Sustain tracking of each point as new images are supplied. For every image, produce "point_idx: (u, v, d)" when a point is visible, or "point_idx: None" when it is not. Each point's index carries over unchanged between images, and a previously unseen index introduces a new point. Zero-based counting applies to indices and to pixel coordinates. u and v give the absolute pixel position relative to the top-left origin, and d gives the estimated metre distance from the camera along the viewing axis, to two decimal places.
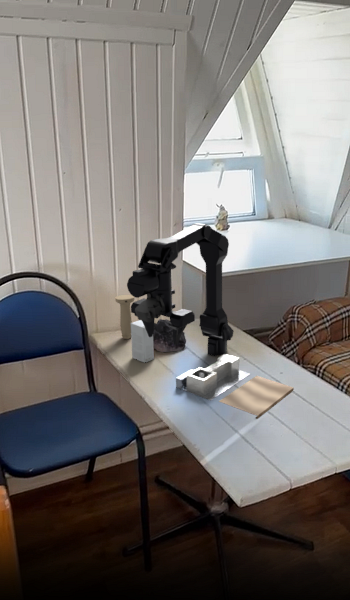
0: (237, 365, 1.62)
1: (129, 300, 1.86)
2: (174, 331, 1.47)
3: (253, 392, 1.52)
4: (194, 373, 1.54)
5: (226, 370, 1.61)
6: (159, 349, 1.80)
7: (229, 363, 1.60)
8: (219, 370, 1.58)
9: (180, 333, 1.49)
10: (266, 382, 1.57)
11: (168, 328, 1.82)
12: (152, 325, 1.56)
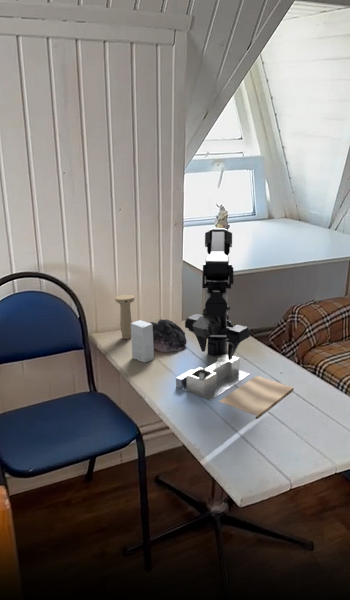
0: (237, 365, 1.62)
1: (129, 300, 1.86)
2: (230, 346, 1.51)
3: (253, 392, 1.52)
4: (194, 373, 1.54)
5: (226, 370, 1.61)
6: (160, 349, 1.80)
7: (229, 363, 1.60)
8: (219, 370, 1.58)
9: (235, 348, 1.53)
10: (266, 382, 1.57)
11: (169, 328, 1.82)
12: (205, 340, 1.60)
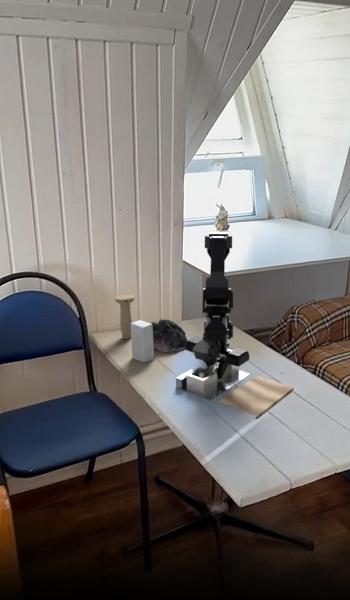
0: None
1: (129, 300, 1.86)
2: (220, 366, 1.55)
3: (253, 392, 1.52)
4: (194, 373, 1.54)
5: (226, 370, 1.61)
6: (160, 349, 1.80)
7: None
8: None
9: (225, 368, 1.57)
10: (266, 382, 1.57)
11: (169, 328, 1.82)
12: None
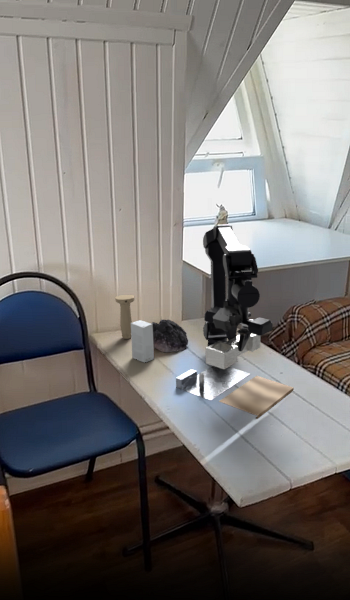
0: (258, 340, 1.54)
1: (129, 300, 1.86)
2: (241, 337, 1.47)
3: (253, 392, 1.52)
4: (214, 346, 1.46)
5: (247, 345, 1.53)
6: (161, 349, 1.80)
7: (250, 337, 1.52)
8: None
9: (246, 339, 1.49)
10: (266, 382, 1.57)
11: (170, 328, 1.82)
12: (234, 336, 1.52)
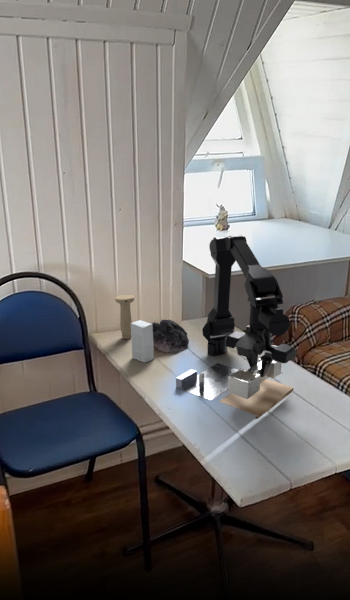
0: (279, 367, 1.53)
1: (129, 300, 1.86)
2: (263, 363, 1.45)
3: None
4: (236, 375, 1.44)
5: (268, 372, 1.51)
6: (162, 349, 1.80)
7: (272, 364, 1.50)
8: None
9: (268, 365, 1.47)
10: (266, 382, 1.57)
11: (171, 328, 1.82)
12: (256, 362, 1.50)
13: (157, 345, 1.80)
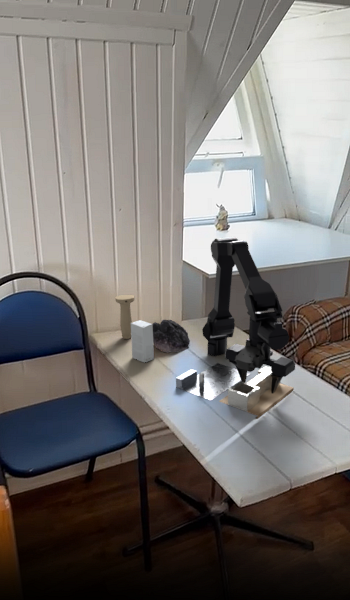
0: None
1: (129, 300, 1.86)
2: (274, 380, 1.45)
3: None
4: (236, 388, 1.46)
5: (268, 384, 1.52)
6: (163, 349, 1.80)
7: None
8: (261, 384, 1.49)
9: (278, 381, 1.46)
10: None
11: (172, 328, 1.81)
12: (246, 371, 1.53)
13: (158, 345, 1.80)
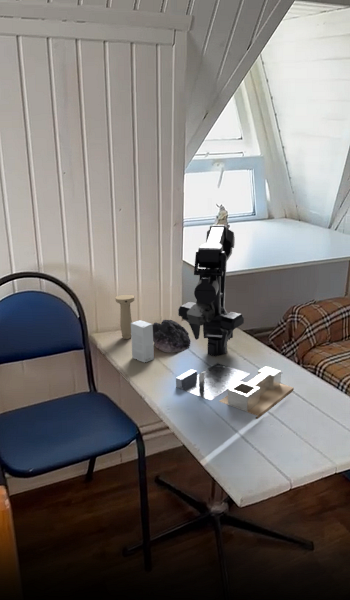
0: (279, 379, 1.54)
1: (129, 300, 1.86)
2: (224, 333, 1.52)
3: None
4: (236, 388, 1.46)
5: (268, 384, 1.52)
6: (164, 349, 1.80)
7: (271, 376, 1.51)
8: (261, 384, 1.49)
9: (229, 335, 1.54)
10: None
11: (172, 328, 1.81)
12: (198, 328, 1.60)
13: (159, 345, 1.80)
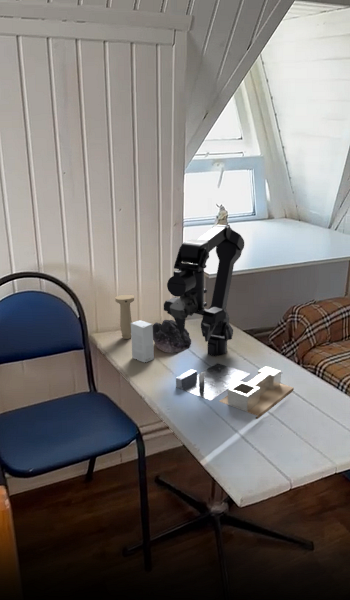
0: (279, 379, 1.54)
1: (129, 300, 1.86)
2: (206, 328, 1.55)
3: None
4: (236, 388, 1.46)
5: (268, 384, 1.52)
6: (165, 350, 1.80)
7: (271, 376, 1.51)
8: (261, 384, 1.49)
9: (211, 330, 1.57)
10: None
11: (173, 328, 1.81)
12: (183, 322, 1.63)
13: (160, 345, 1.80)
